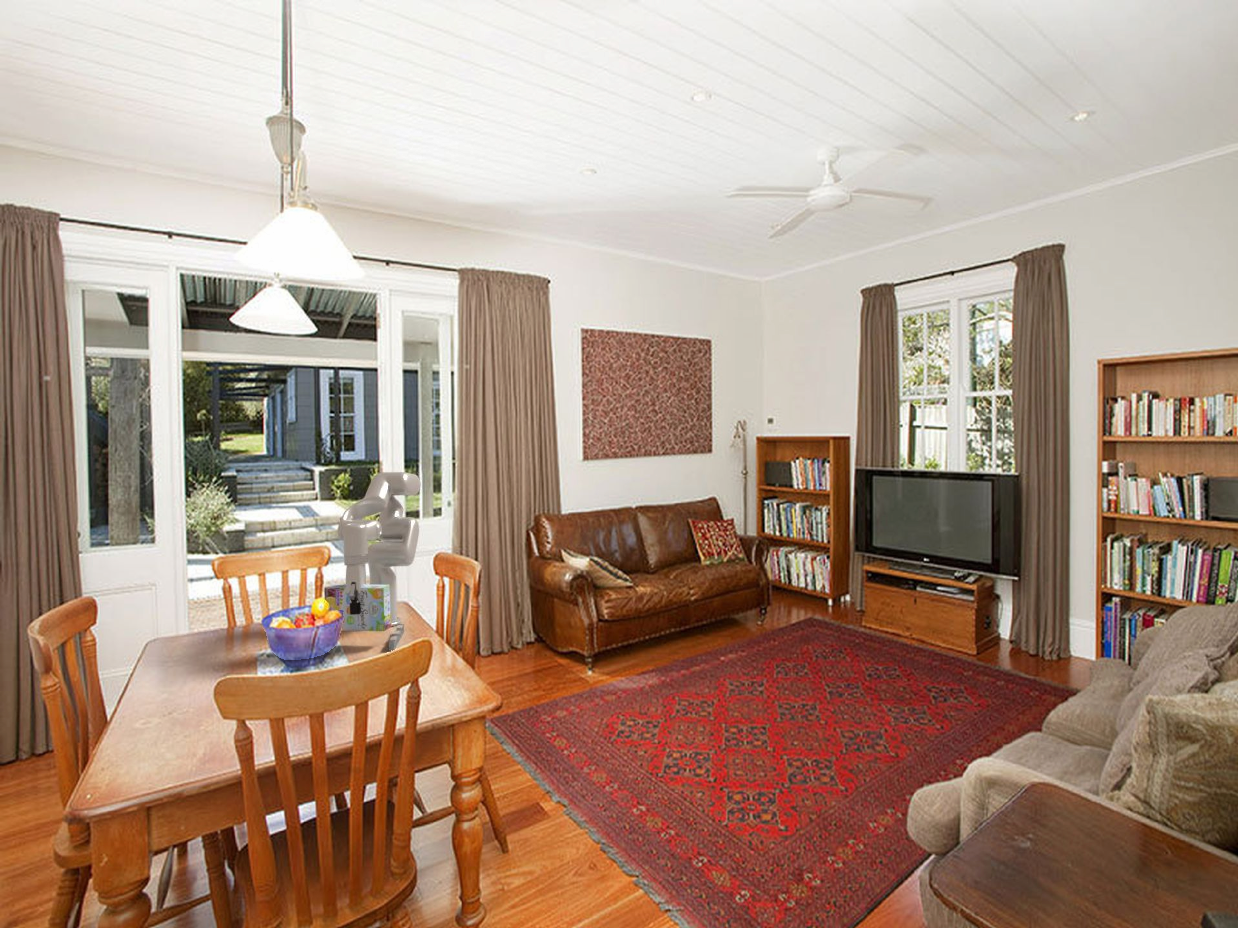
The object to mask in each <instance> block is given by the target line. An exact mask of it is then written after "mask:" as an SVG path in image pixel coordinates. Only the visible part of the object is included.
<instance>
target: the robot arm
mask: <svg viewBox="0 0 1238 928" xmlns="http://www.w3.org/2000/svg"><path fill="white" fill-rule="evenodd" d="M420 490H421V479H420V477H419V476H418V475H417V474H415V473H410V472H406V471H405V472H403V471H402V472H401V471H397V472H396V471H394V472H393V471H389V472H387V471H384V472H383V471H382V472H378V473H376V474H374V475H373V477H372V479H371V481H370V483H369V487H368V488H367V490H366V492H365V495H364V497H363V498H362V499H359V500H358V501H356V502H355V503H353V504H352V505H350V506H349V507H348V508H347V509H346V510H345V511H344V512H343V514H342V517H341V519H340V520H339V523H338V526H337V536H338V538H339V539H340V540H341V541H343V558H344V559H343V560H344V561H343V562H344V563H343V564H344V565H343V566H346V568H345V584H346V595H349V593H350V614H351V615H355V614H360V613H361V611H360V602H359V595H360V594H361V591H362V587H363V586H364V585H365V584H367V571H366V570H367V568H366V565H368V570H369V571H368V573H369V585H390V616H391V627H390V628H393V627H395V626H398V625H399V624H402V619H401V618H400V617H399V616H398V609H397V608H398V605H397V604H398V603H397V600H398V599H397V598H398V597H397V596H398V595H397V576H396V573H395V572H394V571H393V569H392V568H393V567H408V566H411V565H412V564H413V562H414V561H415V556H416V551H417V547H418V540H419V534H420V525H419V522H418V520H417V519H416V518H415V517H410V516H409V517H407V516H406V517H405V516H403V515H404V506H403V505H402V504H401V502H400V501H399V500H398V499H397V498H396V497H395V496H416V495H417V494H419V492H420ZM377 514H379V517H378V520H375V519H364V518H367V517H371V516H374V515H377ZM376 540H379V541H376ZM374 541H375V542H374ZM368 542H373V543H370V544H369V545H368ZM391 567H392V568H391ZM350 590H351V591H350ZM355 592H358V593H355ZM356 596H357V597H356Z"/></svg>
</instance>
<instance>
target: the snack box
mask: <svg viewBox="0 0 1238 928" xmlns="http://www.w3.org/2000/svg"><path fill="white" fill-rule="evenodd" d="M350 591H351V590H350ZM355 593H358V592H355ZM356 597H357V596H356ZM325 600H326V601H327V602H328V603H329V605H330V607H331V609H335V610H343V611H344V612H343V616H344V621H343V624H342V630H341V631H350V632H351V631H353V632H354V631H355V632H363V631H364V632H385V631H387V630H389V629H390V628H392V627H391V616H390V585H370V583H368V584H367V583H366V584H365V585H364V586H363V587H362V591H361V594H360V595H359V602H360V611H361V613H360V614H355V615H351V614H350V593H349V595H346V583H341V584H340V583H338V584H337V583H334V584H333V583H331V584H330V585H328V586H325V587H324V601H325Z"/></svg>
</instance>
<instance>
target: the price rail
mask: <svg viewBox="0 0 1238 928" xmlns="http://www.w3.org/2000/svg"><path fill="white" fill-rule="evenodd" d="M396 626H397V627H396V630H394V632H393V633H392V634H393V635H392V636H391V637H389V642H388V651H389V652H392V651H391V650H394V649H396V648H397V646H398V644H399V642H400V640H401V639H402V637H403V635H404V633H405V624H404V623H400V624H398V625H396ZM394 651H395V650H394Z"/></svg>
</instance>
